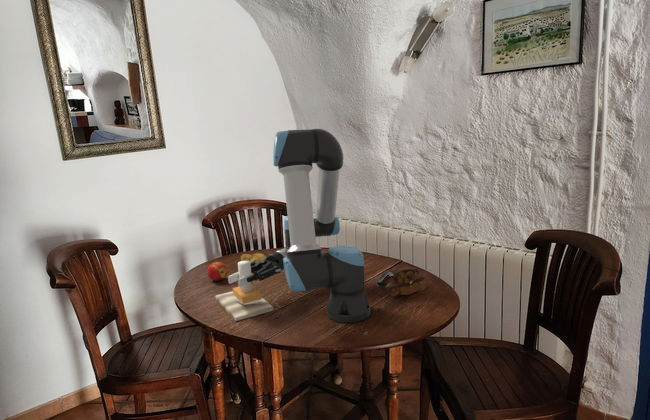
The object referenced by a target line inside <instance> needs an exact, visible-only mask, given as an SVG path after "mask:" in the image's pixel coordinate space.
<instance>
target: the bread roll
mask: <svg viewBox="0 0 650 420" xmlns="http://www.w3.org/2000/svg"><path fill="white" fill-rule="evenodd" d="M266 258H267V256H266V255H265V254H264V253H259V252H256V253H253V254H249V253H242V254H241V255H240V261H250V263H251V262H253V261H254V260H257V262H261V261H263V260H266Z"/></svg>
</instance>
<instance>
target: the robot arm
mask: <svg viewBox="0 0 650 420" xmlns="http://www.w3.org/2000/svg"><path fill="white" fill-rule="evenodd" d="M272 154H273V155H272V156H273V157H272V161H273V162H272V163H273V166H274V167H277V168H278V169H277V170H278V173H280V174H281V175H282V176H283V182H284V184H283V185H284V192H285V201H286V202H285V203H286V211H287V212H286V213H287V215H286V216H285V217H284V219H283V228H284V241H285V247H283V248H281V249H279V250H276V251H274V252H273V253H270V254H268V255H267V256H266V260H263V261H261V262H257V260H254V261H253V262H251V263H250V264H251V273H250V274H248V275H246V276H244V277H242V278H239V271H237V272H235V273H232V274H231V275H227V281H228V282H227V283H228V284H229V285H230V284H233V283H235V282H237V284H238V286H237V287H241V286H243V285H245V284H247V283H249V282H252V283H253V282H254V281H258V280H259V281H260V282H262V281H264V280H266V279H269V278H270V277H272V276H275V275H278V274H281V271H284V274H285V279H286V281H287V284H288V287H289V289H290V290H291V291H292V292H297V293H298V292H307V291H315V290H322V289H329V288H330V294H329V297H328V301H327V303H326V316H327V317H328V318H329V319H330V320H332V321H334V322H338V323H345V324H346V323H347V324H350V323H357V322H358V323H359V322H361V321H363V320H366V319H367V318H369V316H370V315H371V305H370V302H369V300H368V296H367V294H366V291H365V290H366V289H365V258H364V254H363V252H362V251H361V250H360V249H359V248H356V247H354V246H349V245H333V246H330V247H329V248H328V251H327V252H323V251H322V247H321V246H320V245H319V244H318V243H317V240H316V239H317V238H319V237H330V236H336V235H339V234H340V229H341V227H340V226H341V224H340V220H339V218H338V216H336V209H337V200H338V190H339V189H338V188H339V179H340V170H341V169H342V168H343V166H344V151H343V149H342V145H341V144H340V142H339V141H338V139H337V138H336V137H335V136H334V135H333V134H332V133H331V132H329V131H327V130H325V129H322V128H312V129H310V128H309V129H291V130H290V129H288V130H283V131H280V130H279V131H277V132H276V133H275V135H274V139H273V153H272ZM313 164H316V167H317V168H318V176H317V193H316V195H317V196H316V209H315V211H316V213H315V218H314V210H313V202H312V200H313V199H312V193H311V192H312V191H311V183H310V174H309V173H310V172H311V171H312V170H313Z"/></svg>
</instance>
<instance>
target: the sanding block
mask: <svg viewBox="0 0 650 420" xmlns="http://www.w3.org/2000/svg"><path fill="white" fill-rule="evenodd" d="M237 270H238V271H237V272H239V278H242V277H244V276H246V275H248V274H250V273H251V264H250V261H241V260H240V261H238V262H237ZM232 291H233V295H234V296H235V297H236V298H237V299H238V300H239V301H240V302H241V303H242V304H246V303H250V302H253V301H257V300H260V299H262V298H263V297H262V292H261V291H260V290H259V289H258V288H257V287H256V286H254V285H253V281H252V282H249V283H247V284H245V285H243V286H241V287H239V286H236V287H232ZM261 297H262V298H261Z"/></svg>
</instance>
